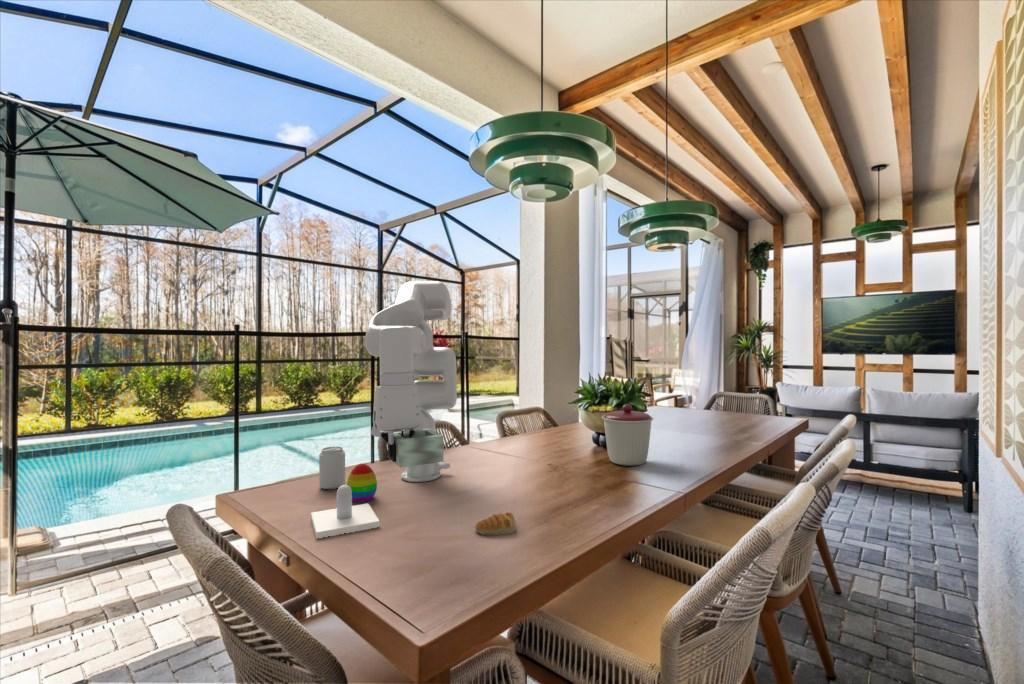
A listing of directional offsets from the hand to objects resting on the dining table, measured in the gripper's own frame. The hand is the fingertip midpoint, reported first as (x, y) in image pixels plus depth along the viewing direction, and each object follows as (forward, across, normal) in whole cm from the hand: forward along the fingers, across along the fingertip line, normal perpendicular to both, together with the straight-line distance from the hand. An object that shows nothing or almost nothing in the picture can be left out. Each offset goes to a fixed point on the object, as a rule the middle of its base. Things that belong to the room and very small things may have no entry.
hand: (397, 459), depth 108 cm
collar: (+1, -4, 0) cm, 4 cm away
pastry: (+18, -21, +9) cm, 29 cm away
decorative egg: (+18, +3, -30) cm, 35 cm away
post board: (+18, +10, -14) cm, 24 cm away
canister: (+18, -89, -24) cm, 94 cm away
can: (+18, +9, -46) cm, 50 cm away
